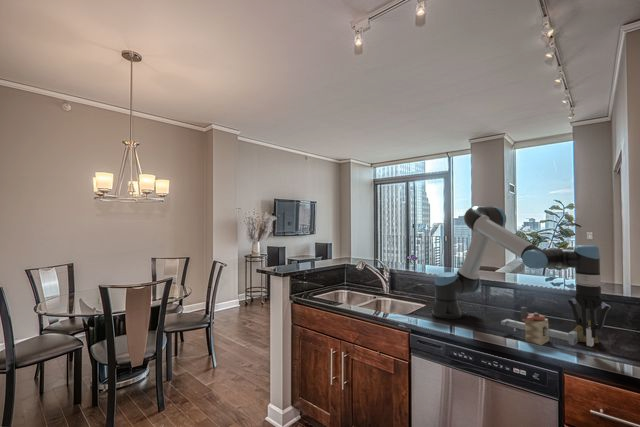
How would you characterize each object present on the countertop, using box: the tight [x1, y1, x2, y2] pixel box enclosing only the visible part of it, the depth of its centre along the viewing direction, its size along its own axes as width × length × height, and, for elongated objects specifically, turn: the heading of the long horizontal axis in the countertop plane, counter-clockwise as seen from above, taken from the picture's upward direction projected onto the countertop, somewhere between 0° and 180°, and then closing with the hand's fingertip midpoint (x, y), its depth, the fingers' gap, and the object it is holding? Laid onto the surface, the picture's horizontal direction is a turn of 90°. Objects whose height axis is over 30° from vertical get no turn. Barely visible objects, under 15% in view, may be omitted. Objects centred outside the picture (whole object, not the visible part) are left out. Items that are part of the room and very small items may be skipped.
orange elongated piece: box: [520, 306, 546, 322], centre depth 136 cm, size 12×6×6 cm, turn 113°
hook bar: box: [500, 318, 578, 346], centre depth 137 cm, size 27×6×4 cm, turn 35°
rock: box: [571, 319, 600, 344], centre depth 137 cm, size 11×9×10 cm
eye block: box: [524, 318, 550, 346], centre depth 137 cm, size 6×8×10 cm
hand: (590, 345), depth 122 cm, fingers closed
